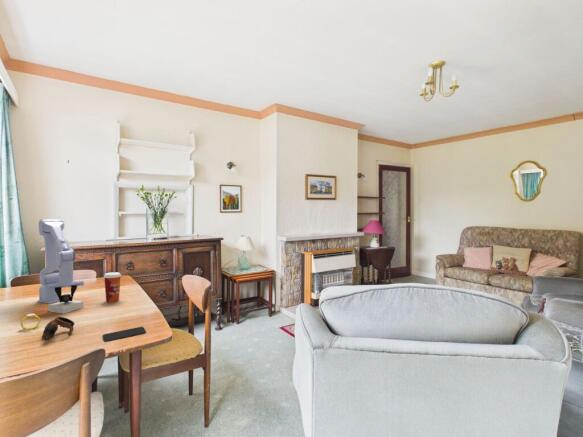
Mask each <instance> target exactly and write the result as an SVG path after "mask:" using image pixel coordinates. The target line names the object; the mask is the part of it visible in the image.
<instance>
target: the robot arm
mask: <svg viewBox="0 0 583 437" xmlns="http://www.w3.org/2000/svg"><path fill="white" fill-rule="evenodd" d="M64 228H65V220H64V219H63V218H40V219H39V221H38V233H39V235H40V236H41V237H43V240H44V253H45V267H43V268H42V269H41V270H40V271H39V283H40V285H41V286H40V287H39V290H38V294H39V295H38V297H39V298H38V300H37V302H39V303H45V304H54V303H57V302H60V303H62V295H63V294H62V291H63V290H62V289H63V288H70V294H71V301H72V300H74V295H75V292H76V291H77V289H78V287H84V286H85V280H81V281H80V280H79V281H74V261H75V260H76V252H75V250H74V249H73V248H72V247H71V246H70V243H69V241H68V240H67V238H64V234H63V233H64V232H63V230H64Z"/></svg>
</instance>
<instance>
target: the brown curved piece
mask: <svg viewBox="0 0 583 437" xmlns="http://www.w3.org/2000/svg"><path fill="white" fill-rule="evenodd" d="M75 324H76V323H75V322H74V321H73V320H71V319H69V318H68V317H64V316H56V317H55V318H54V319H51V320H50V321H49V322H48V323H47V324H46V325H45V327H44V330H43V332H42V335H41V338H42V339H43V340H44V341H46V340H47V339H53V338H54V336H55V334H56V332H57V331H58V330H59V328H60V327H61V328H66V329H69V331H68V335H69V336H71V335H72V333H73V332H74V325H75Z"/></svg>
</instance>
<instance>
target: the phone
mask: <svg viewBox="0 0 583 437" xmlns="http://www.w3.org/2000/svg"><path fill="white" fill-rule="evenodd" d="M144 334H147V331H146V329H145V327H144V326H137V327H133V328H128V329H122V330H119V331H114V332H108V333H104V334H102V340H103V342H105V343H107V342H108V343H109V342H113V341H116V340H121V339H125V338H126V339H127V338H130V337H136V336H140V335H144Z"/></svg>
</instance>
